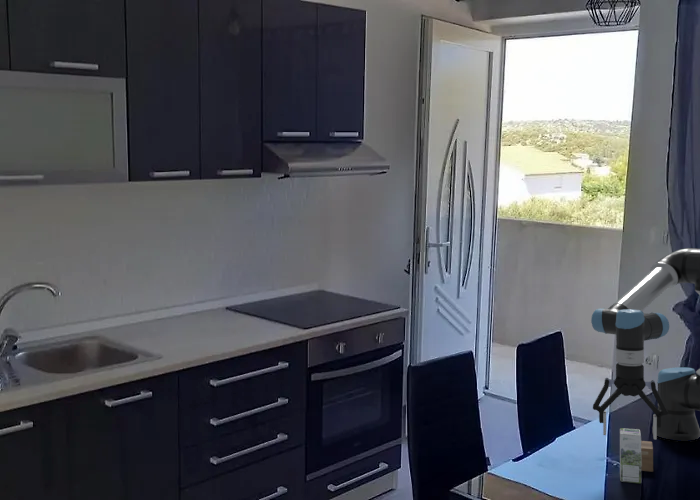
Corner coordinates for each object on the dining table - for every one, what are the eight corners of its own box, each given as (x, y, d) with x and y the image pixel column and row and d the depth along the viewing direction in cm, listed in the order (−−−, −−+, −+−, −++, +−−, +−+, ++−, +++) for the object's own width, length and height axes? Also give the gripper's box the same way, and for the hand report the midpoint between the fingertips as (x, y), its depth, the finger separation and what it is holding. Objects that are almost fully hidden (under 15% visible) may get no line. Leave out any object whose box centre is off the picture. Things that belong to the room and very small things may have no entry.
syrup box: (640, 477, 216) (640, 428, 215) (641, 484, 210) (641, 434, 209) (619, 475, 218) (619, 427, 217) (620, 482, 212) (619, 433, 211)
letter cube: (627, 461, 229) (627, 439, 228) (652, 464, 226) (651, 441, 226) (628, 470, 222) (627, 447, 222) (653, 472, 220) (653, 449, 219)
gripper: (583, 363, 213) (583, 435, 214) (678, 368, 204) (677, 443, 205) (584, 358, 220) (584, 428, 221) (675, 363, 211) (675, 436, 212)
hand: (629, 436), depth 213 cm, fingers open, 13 cm apart
